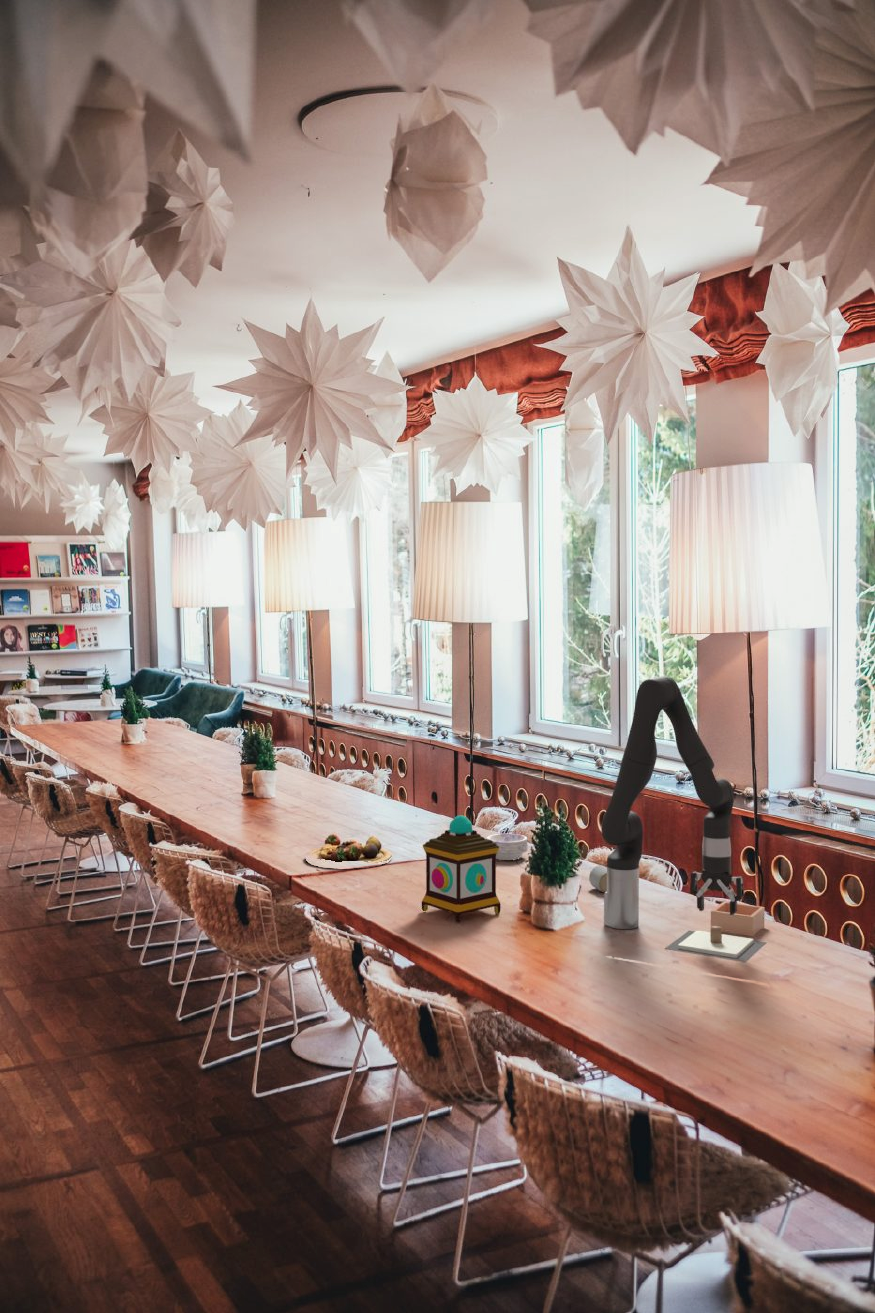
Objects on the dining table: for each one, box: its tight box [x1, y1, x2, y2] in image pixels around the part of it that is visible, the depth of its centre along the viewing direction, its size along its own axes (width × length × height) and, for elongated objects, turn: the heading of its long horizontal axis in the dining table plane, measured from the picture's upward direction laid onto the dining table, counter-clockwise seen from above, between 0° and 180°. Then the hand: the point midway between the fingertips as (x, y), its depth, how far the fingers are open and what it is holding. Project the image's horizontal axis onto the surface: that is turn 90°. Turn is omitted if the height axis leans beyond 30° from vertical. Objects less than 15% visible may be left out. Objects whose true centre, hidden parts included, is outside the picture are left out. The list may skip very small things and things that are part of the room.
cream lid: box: [678, 925, 755, 958], centre depth 306 cm, size 16×16×5 cm
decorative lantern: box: [421, 814, 502, 924], centre depth 340 cm, size 20×20×30 cm
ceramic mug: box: [588, 865, 607, 894], centre depth 368 cm, size 11×8×8 cm
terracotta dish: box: [710, 901, 766, 937], centre depth 323 cm, size 12×12×6 cm
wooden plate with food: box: [308, 833, 393, 863], centre depth 413 cm, size 32×32×8 cm
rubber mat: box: [664, 930, 767, 963], centre depth 306 cm, size 22×20×1 cm
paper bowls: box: [485, 832, 528, 861], centre depth 415 cm, size 15×15×8 cm
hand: (716, 912), depth 305 cm, fingers open, 8 cm apart
